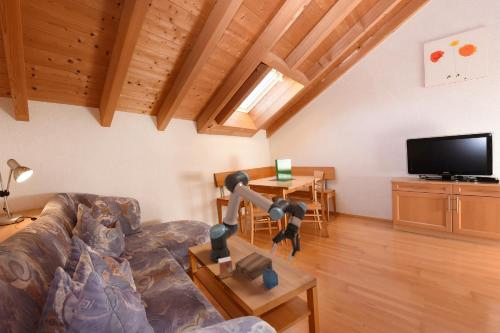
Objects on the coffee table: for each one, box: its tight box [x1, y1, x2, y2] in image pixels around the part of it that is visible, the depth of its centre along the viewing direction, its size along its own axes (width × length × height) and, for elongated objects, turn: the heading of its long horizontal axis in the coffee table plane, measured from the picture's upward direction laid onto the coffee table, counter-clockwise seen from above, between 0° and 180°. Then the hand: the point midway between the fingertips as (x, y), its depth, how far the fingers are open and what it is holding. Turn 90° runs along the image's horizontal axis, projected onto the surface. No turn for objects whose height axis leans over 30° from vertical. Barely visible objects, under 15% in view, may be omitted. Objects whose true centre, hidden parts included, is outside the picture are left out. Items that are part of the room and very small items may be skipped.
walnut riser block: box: [234, 251, 273, 282], centre depth 145 cm, size 16×18×6 cm
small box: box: [217, 255, 234, 279], centre depth 141 cm, size 8×6×10 cm
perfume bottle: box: [262, 263, 279, 291], centre depth 127 cm, size 6×6×12 cm
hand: (280, 257), depth 132 cm, fingers open, 13 cm apart
